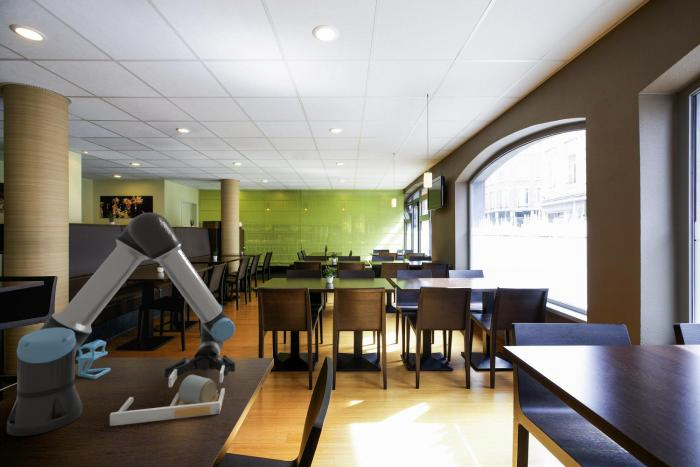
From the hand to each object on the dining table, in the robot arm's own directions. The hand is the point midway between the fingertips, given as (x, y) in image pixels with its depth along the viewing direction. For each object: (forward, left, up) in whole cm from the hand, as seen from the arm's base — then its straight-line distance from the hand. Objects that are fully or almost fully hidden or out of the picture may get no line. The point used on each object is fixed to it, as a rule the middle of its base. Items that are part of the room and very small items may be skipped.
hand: (195, 380), depth 100 cm
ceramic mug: (+1, +4, -8) cm, 9 cm away
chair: (-40, +36, -8) cm, 55 cm away
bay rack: (-6, +3, -8) cm, 11 cm away
